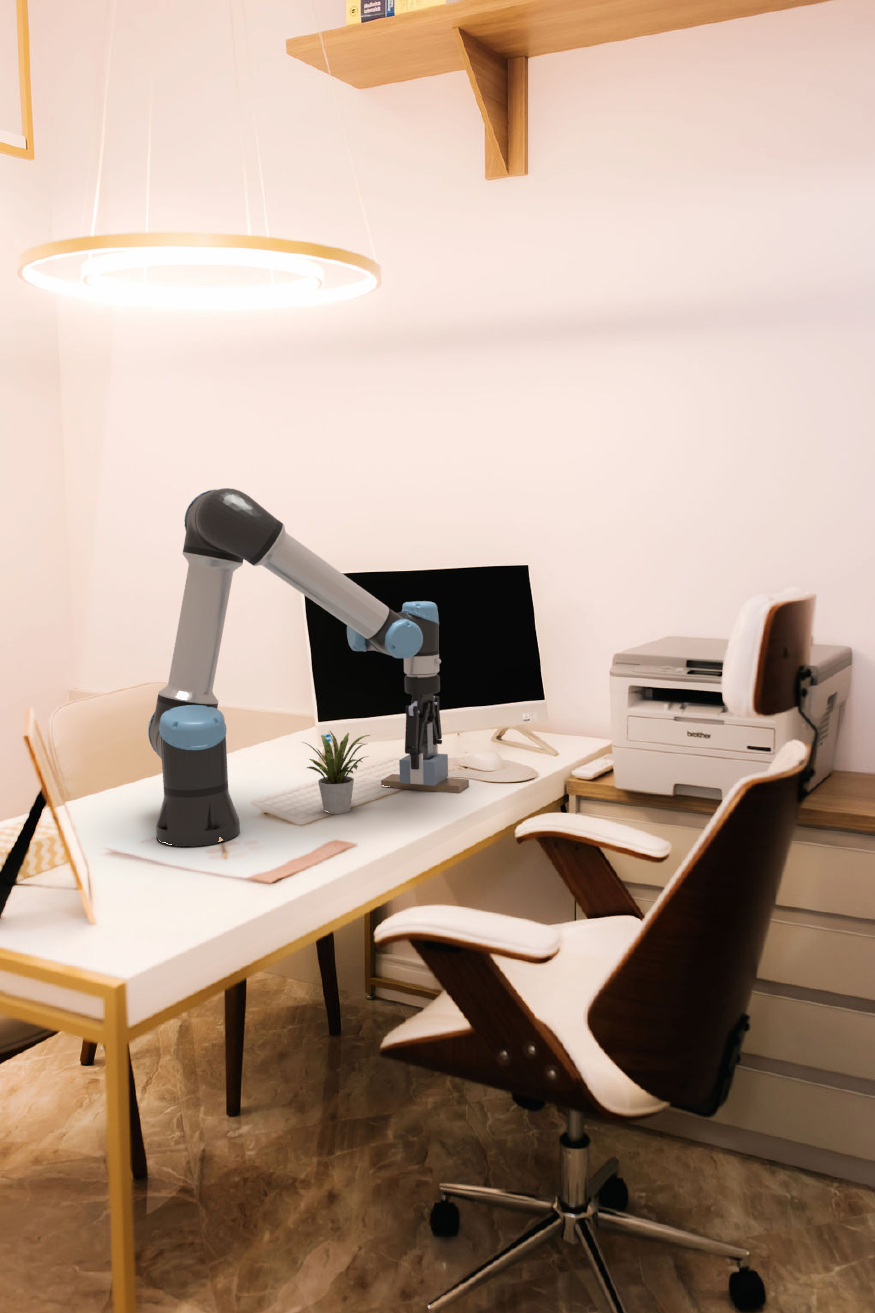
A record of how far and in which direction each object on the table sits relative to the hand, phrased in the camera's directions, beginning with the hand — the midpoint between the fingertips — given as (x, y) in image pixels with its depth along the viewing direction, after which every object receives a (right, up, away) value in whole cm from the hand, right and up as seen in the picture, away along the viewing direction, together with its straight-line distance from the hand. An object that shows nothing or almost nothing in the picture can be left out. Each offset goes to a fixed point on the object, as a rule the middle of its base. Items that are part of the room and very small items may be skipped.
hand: (424, 778), depth 225 cm
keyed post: (0, -2, 0) cm, 2 cm away
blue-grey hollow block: (0, 0, 0) cm, 0 cm away
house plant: (-16, -5, -17) cm, 24 cm away
